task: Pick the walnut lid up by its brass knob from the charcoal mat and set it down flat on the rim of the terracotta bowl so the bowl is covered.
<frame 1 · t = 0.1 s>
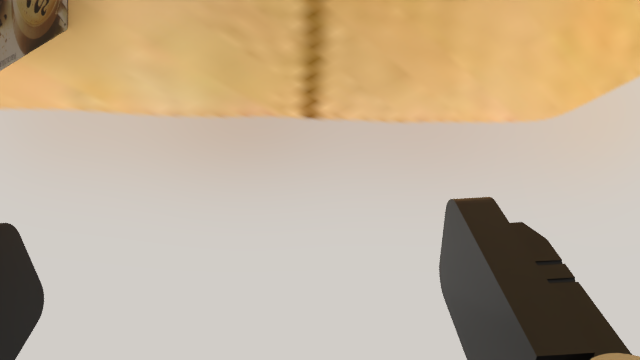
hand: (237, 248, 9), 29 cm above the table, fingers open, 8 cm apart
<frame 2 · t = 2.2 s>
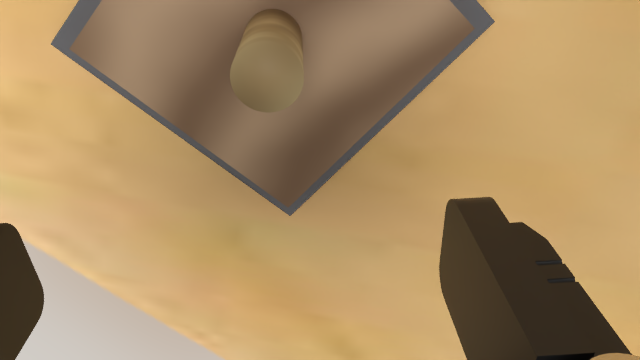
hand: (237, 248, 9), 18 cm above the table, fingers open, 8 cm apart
mat: (274, 30, 25), on the table
lid: (274, 32, 25), point 1 cm above the table, touching mat
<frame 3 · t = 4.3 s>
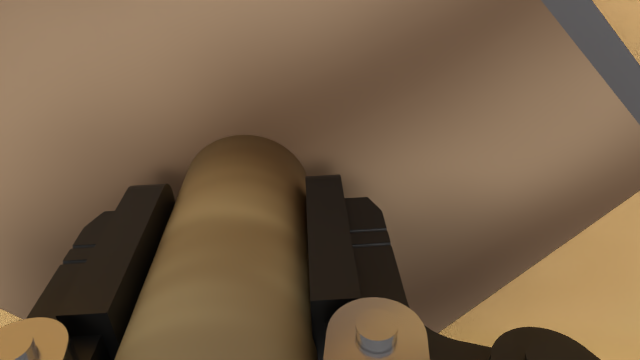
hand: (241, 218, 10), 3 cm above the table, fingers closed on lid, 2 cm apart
mat: (253, 154, 13), on the table
lid: (251, 165, 12), point 1 cm above the table, touching gripper, mat
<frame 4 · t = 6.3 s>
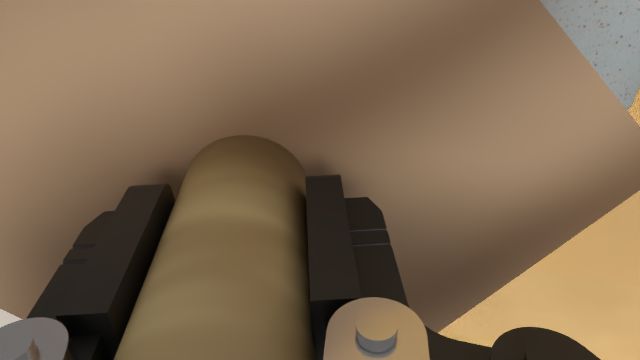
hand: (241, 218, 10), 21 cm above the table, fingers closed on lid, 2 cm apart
ceramic mug: (526, 4, 29), on the table
lid: (251, 165, 12), point 19 cm above the table, touching gripper
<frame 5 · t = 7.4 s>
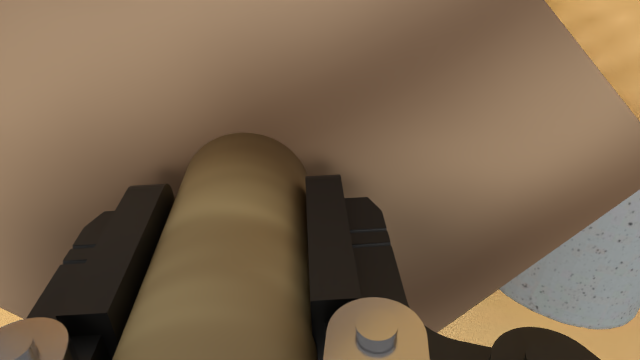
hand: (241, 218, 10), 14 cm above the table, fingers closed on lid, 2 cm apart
ceramic mug: (517, 173, 26), on the table
lid: (251, 163, 12), point 11 cm above the table, touching gripper
when the fingers open (9 cm above the table, at t = 8.4 s): lid stays where it is, resting on bowl.
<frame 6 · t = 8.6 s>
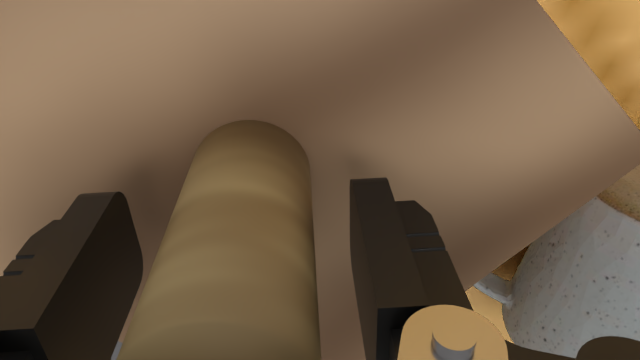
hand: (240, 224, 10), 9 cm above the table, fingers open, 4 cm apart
ceramic mug: (551, 217, 22), on the table
lid: (255, 151, 13), point 6 cm above the table, touching bowl
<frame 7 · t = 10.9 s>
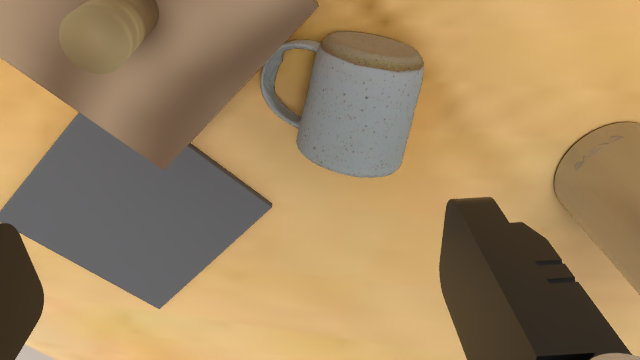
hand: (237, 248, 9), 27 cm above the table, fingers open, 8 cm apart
mat: (136, 208, 41), on the table
ceramic mug: (334, 82, 36), on the table
lid: (137, 4, 27), point 6 cm above the table, touching bowl
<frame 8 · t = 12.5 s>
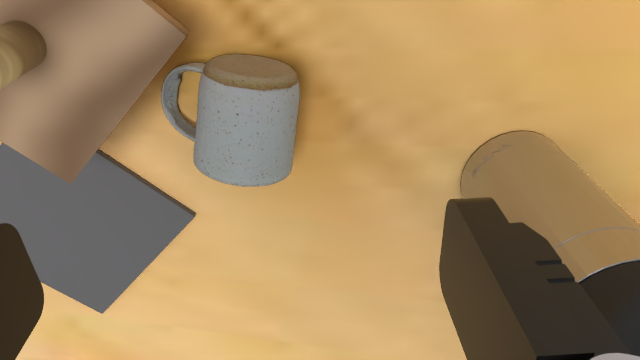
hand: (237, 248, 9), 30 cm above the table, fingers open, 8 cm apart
mat: (71, 220, 44), on the table
ceramic mug: (234, 100, 40), on the table
lid: (31, 39, 30), point 6 cm above the table, touching bowl
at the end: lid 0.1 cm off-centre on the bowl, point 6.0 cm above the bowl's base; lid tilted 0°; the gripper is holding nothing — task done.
